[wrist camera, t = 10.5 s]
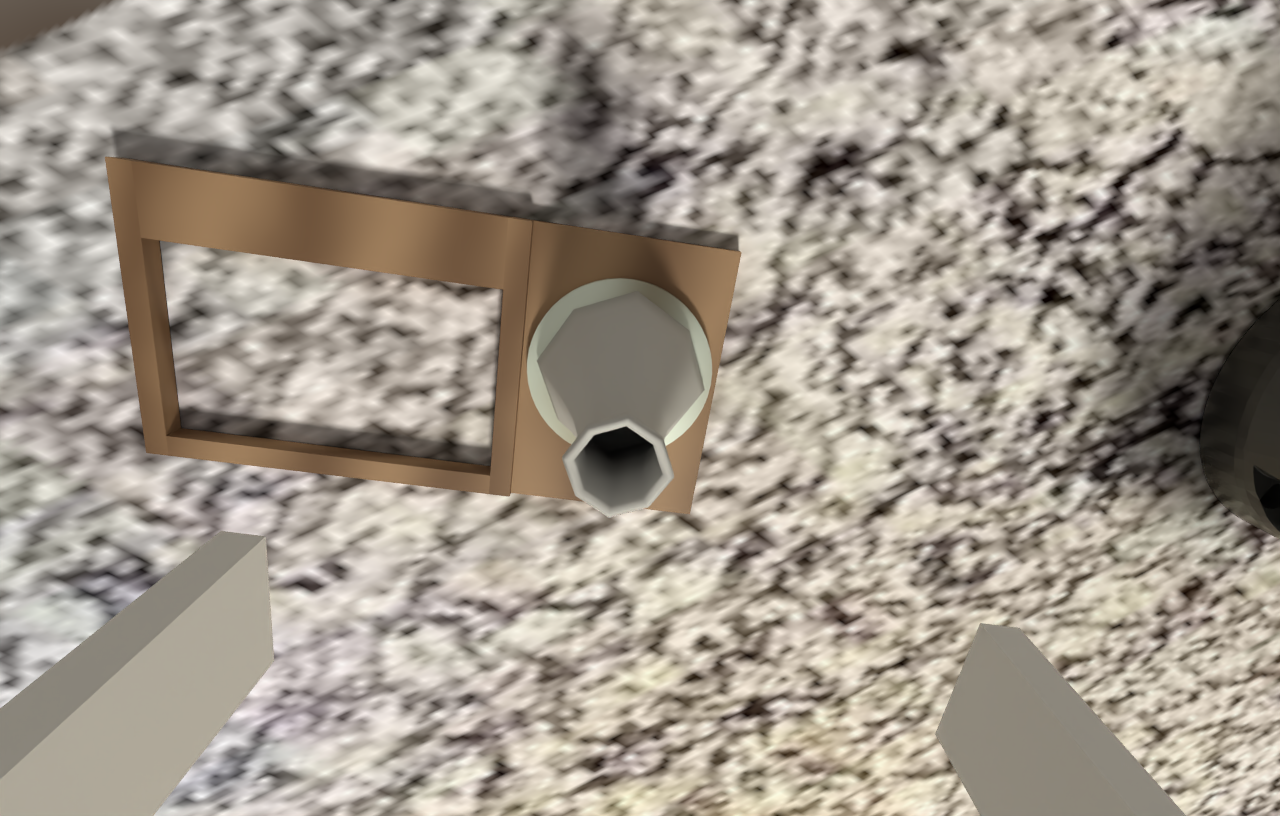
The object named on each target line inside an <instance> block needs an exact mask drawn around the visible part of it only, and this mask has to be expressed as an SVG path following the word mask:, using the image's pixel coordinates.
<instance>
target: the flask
mask: <svg viewBox="0 0 1280 816" xmlns="http://www.w3.org/2000/svg"><path fill="white" fill-rule="evenodd" d="M537 363H538V366H539V369H540V371H541V374H542V377H543V380H544V383H545V385H546V388H547V391H548V394H549V397H550V400H551V402H552V405H553V408H554V411H555V414H556V416H557V419H558V420H559V421H560V422H561V423H562V424H563V425H564V426H565V427H566V428H568V429H569V430H570V431H571V432H572V433H573V435H574V436H575V437H576V439H575V441H574V442H573V443H572V445H571V446H570V447H569V448H568V450H567V451H566V452H565V454H564V455H563V456H562V460H563V463H564V466H565V469H566V471H567V474H568V477H569V480H570V482H571V485H572V488H573V491H574V494H575V496H576V497H578V498H579V499H581V500H582V501H584V502H586V503H587V504H589V505H590V506H592V507H593V508H595V509H596V510H598V511H599V512H601V513H603V514H604V515H606V516H607V517H609V518H610V517H614V516H617V515H621V514H625V513H629V512H633V511H637V510H640V509H644V508H648V507H649V506H650V505H651V504H652V503H653V502H654V500H655V499H656V498H657V497H658V496H659V495H660V493H661V492H662V491H663V490H664V489H665V488H666V486H667V485H668V484H669V483H670V482H671V481H672V479H673V478H674V473H673V469H672V466H671V462H670V459H669V456H668V452H667V449H666V445H665V442H664V439H665V437H666V436H667V435H668V434H669V432H670V431H671V430H672V429H673V428H674V426H675V425H676V424H677V423H678V422H679V420H680V419H681V418H682V417H683V416H684V414H685V413H686V412H687V411H688V410H689V408H690V407H691V406H692V405H693V403H694V402H695V401H696V400H697V399H698V397H699V396H700V395H701V394H702V393H703V391H704V390H705V389H704V385H703V381H702V377H701V373H700V370H699V366H698V362H697V358H696V354H695V350H694V347H693V343H692V339H691V335H690V331H689V330H688V329H687V328H685V327H684V326H683V325H682V324H680V323H679V322H678V321H676V320H675V319H674V318H672V317H671V316H670V315H668V314H667V313H666V312H664V311H663V310H662V309H661V308H659V307H658V306H657V305H655V304H654V303H653V302H651V301H650V300H649V299H647V298H646V297H645V296H643V295H642V294H641V293H640V292H638V291H635V292H632V293H628V294H625V295H621V296H618V297H614V298H611V299H607V300H604V301H601V302H597V303H594V304H590V305H587V306H583V307H580V308H576V309H574V310H573V311H572V312H571V314H570V315H569V316H568V318H567V319H566V321H565V322H564V323H563V325H562V326H561V328H560V329H559V330H558V332H557V333H556V334H555V336H554V337H553V339H552V340H551V341H550V343H549V344H548V345H547V347H546V348H545V350H544V351H543V352H542V354H541V355H540V357H539V358H538V359H537Z"/></svg>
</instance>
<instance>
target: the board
mask: <svg viewBox="0 0 1280 816" xmlns="http://www.w3.org/2000/svg"><path fill="white" fill-rule="evenodd" d="M105 161H106V168H107V175H108V182H109V189H110V197H111V204H112V211H113V218H114V225H115V232H116V239H117V247H118V254H119V261H120V268H121V275H122V282H123V289H124V296H125V304H126V311H127V318H128V325H129V332H130V339H131V346H132V354H133V361H134V368H135V375H136V382H137V389H138V396H139V404H140V411H141V418H142V425H143V432H144V439H145V446H146V453H152V454H160V455H168V456H177V457H185V458H193V459H202V460H210V461H218V462H227V463H235V464H243V465H252V466H260V467H268V468H277V469H285V470H293V471H302V472H310V473H318V474H327V475H335V476H343V477H352V478H360V479H368V480H377V481H385V482H393V483H401V484H410V485H418V486H426V487H435V488H443V489H451V490H460V491H468V492H476V493H485V494H493V495H501V496H510V494H511V493H518V494H526V495H535V496H543V497H551V498H560V499H568V500H576V501H582V500H581V499H579V498H578V497H576V496H575V494H574V491H573V488H572V485H571V482H570V480H569V477H568V474H567V471H566V469H565V466H564V463H563V460H562V456H563V455H564V454H565V452H566V451H567V450H568V448H569V447H570V446H571V445H572V443H573V442H574V441H575V439H576V437H575V436H574V435H573V433H572V432H571V431H570V430H569V429H568V428H566V427H565V426H564V425H563V424H562V423H561V422H560V421H559V420H558V419H557V416H556V414H555V411H554V408H553V405H552V402H551V400H550V397H549V394H548V391H547V388H546V385H545V383H544V380H543V377H542V374H541V371H540V369H539V366H538V363H537V359H538V358H539V357H540V355H541V354H542V352H543V351H544V350H545V348H546V347H547V345H548V344H549V343H550V341H551V340H552V339H553V337H554V336H555V334H556V333H557V332H558V330H559V329H560V328H561V326H562V325H563V323H564V322H565V321H566V319H567V318H568V316H569V315H570V314H571V312H572V311H573V310H574V309H576V308H580V307H583V306H587V305H590V304H594V303H597V302H601V301H604V300H607V299H611V298H614V297H618V296H621V295H625V294H628V293H632V292H635V291H638V292H640V293H641V294H642V295H643V296H645V297H646V298H647V299H649V300H650V301H651V302H653V303H654V304H655V305H657V306H658V307H659V308H661V309H662V310H663V311H664V312H666V313H667V314H668V315H670V316H671V317H672V318H674V319H675V320H676V321H678V322H679V323H680V324H682V325H683V326H684V327H685V328H687V329H688V330H689V331H690V335H691V339H692V343H693V347H694V350H695V354H696V358H697V362H698V366H699V370H700V373H701V377H702V381H703V385H704V389H705V390H704V391H703V393H702V394H701V395H700V396H699V397H698V399H697V400H696V401H695V402H694V403H693V405H692V406H691V407H690V408H689V410H688V411H687V412H686V413H685V414H684V416H683V417H682V418H681V419H680V420H679V422H678V423H677V424H676V425H675V426H674V428H673V429H672V430H671V431H670V432H669V434H668V435H667V436H666V437H665V439H664V442H665V445H666V449H667V452H668V456H669V459H670V462H671V466H672V469H673V473H674V478H673V479H672V481H671V482H670V483H669V484H668V485H667V486H666V488H665V489H664V490H663V491H662V492H661V493H660V495H659V496H658V497H657V498H656V499H655V500H654V502H653V503H652V504H651V505H650V506H649V507H648V508H644V509H651V510H659V511H667V512H676V513H684V514H690V510H691V505H692V500H693V494H694V489H695V484H696V479H697V474H698V469H699V464H700V459H701V454H702V449H703V444H704V439H705V434H706V429H707V424H708V419H709V414H710V409H711V404H712V399H713V394H714V388H715V383H716V378H717V373H718V368H719V363H720V358H721V353H722V348H723V343H724V338H725V333H726V328H727V323H728V318H729V313H730V308H731V303H732V298H733V293H734V288H735V282H736V277H737V272H738V267H739V262H740V257H741V252H740V251H735V250H728V249H722V248H715V247H709V246H702V245H695V244H689V243H682V242H676V241H669V240H662V239H656V238H649V237H643V236H636V235H629V234H623V233H616V232H610V231H603V230H596V229H590V228H583V227H577V226H570V225H563V224H557V223H550V222H544V221H537V220H530V219H524V218H517V217H511V216H504V215H497V214H491V213H484V212H478V211H471V210H464V209H458V208H451V207H445V206H438V205H431V204H425V203H418V202H412V201H405V200H398V199H392V198H385V197H379V196H372V195H365V194H359V193H352V192H346V191H339V190H332V189H326V188H319V187H313V186H306V185H299V184H293V183H286V182H280V181H273V180H266V179H260V178H253V177H247V176H240V175H233V174H227V173H220V172H214V171H207V170H200V169H194V168H187V167H181V166H174V165H167V164H161V163H154V162H148V161H141V160H134V159H128V158H117V157H105ZM159 240H160V241H167V242H174V243H181V244H188V245H195V246H202V247H209V248H216V249H223V250H230V251H237V252H244V253H251V254H258V255H265V256H272V257H279V258H286V259H293V260H300V261H307V262H314V263H321V264H328V265H335V266H342V267H349V268H356V269H363V270H370V271H377V272H384V273H391V274H398V275H405V276H412V277H419V278H426V279H433V280H440V281H447V282H454V283H461V284H468V285H475V286H482V287H488V288H495V289H502V290H503V300H502V314H501V328H500V343H499V357H498V371H497V385H496V399H495V414H494V428H493V442H492V456H491V466H484V465H476V464H468V463H460V462H452V461H444V460H436V459H427V458H419V457H411V456H403V455H395V454H387V453H379V452H371V451H363V450H354V449H346V448H338V447H330V446H322V445H314V444H306V443H298V442H290V441H281V440H273V439H265V438H257V437H249V436H241V435H233V434H225V433H217V432H208V431H200V430H192V429H184V428H181V423H180V414H179V406H178V397H177V389H176V380H175V372H174V363H173V354H172V346H171V337H170V329H169V320H168V312H167V303H166V295H165V286H164V278H163V269H162V261H161V252H160V243H159Z"/></svg>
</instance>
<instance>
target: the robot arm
mask: <svg viewBox="0 0 1280 816" xmlns="http://www.w3.org/2000/svg"><path fill="white" fill-rule="evenodd" d="M1200 453H1201V461H1202V466H1203V470H1204V473H1205V476H1206V479H1207V481H1208V483H1209V485H1210V487H1211V489H1212V491H1213V492H1214V494H1215V495H1216V497H1217V498H1218V499H1219V501H1220V502H1221V503H1222V504H1223V505H1224V506H1225V507H1226V508H1227V509H1228V510H1229V511H1231V512H1232V513H1233V514H1235V515H1236V516H1237V517H1239V518H1241V519H1242V520H1244V521H1246V522H1248V523H1250V524H1252V525H1254V526H1255V527H1257V528H1259V529H1261V530H1263V531H1265V532H1267V533H1269V534H1271V535H1272V536H1274V537H1276V538H1278V539H1280V300H1279V301H1277V302H1276V303H1275V304H1274V305H1273V306H1272V307H1271V308H1270V309H1269V310H1267V311H1266V312H1265V313H1264V314H1263V315H1262V316H1261V317H1260V318H1259V319H1258V320H1257V322H1256V323H1255V324H1254V325H1253V326H1252V327H1251V328H1250V329H1249V330H1248V332H1247V333H1246V334H1245V335H1244V336H1243V338H1242V339H1241V340H1240V342H1239V343H1238V344H1237V346H1236V347H1235V348H1234V350H1233V351H1232V353H1231V354H1230V356H1229V357H1228V359H1227V361H1226V362H1225V364H1224V366H1223V367H1222V369H1221V371H1220V373H1219V375H1218V377H1217V379H1216V381H1215V383H1214V385H1213V387H1212V390H1211V392H1210V395H1209V398H1208V400H1207V404H1206V407H1205V411H1204V415H1203V420H1202V425H1201V433H1200ZM273 662H274V652H273V637H272V623H271V608H270V593H269V579H268V564H267V549H266V536H258V535H249V534H241V533H233V532H225V531H220V532H219V533H218V534H217V535H215V536H214V537H213V538H212V539H211V540H209V541H208V542H207V543H206V544H204V545H203V546H202V547H201V548H199V549H198V550H197V551H196V552H194V553H193V554H192V555H191V556H189V557H188V558H187V559H186V560H184V561H183V562H182V563H181V564H179V565H178V566H177V567H176V568H174V569H173V570H172V571H171V572H169V573H168V574H167V575H166V576H164V577H163V578H162V579H161V580H160V581H158V582H157V583H156V584H155V585H153V586H152V587H151V588H150V589H148V590H147V591H146V592H145V593H143V594H142V595H141V596H140V597H138V598H137V599H136V600H135V601H133V602H132V603H131V604H130V605H128V606H127V607H126V608H125V609H123V610H122V611H121V612H120V613H118V614H117V615H116V616H115V617H114V618H112V619H111V620H110V621H109V622H107V623H106V624H105V625H104V626H102V627H101V628H100V629H99V630H97V631H96V632H95V633H94V634H92V635H91V636H90V637H89V638H87V639H86V640H85V641H84V642H82V643H81V644H80V645H79V646H77V647H76V648H75V649H74V650H72V651H71V652H70V653H69V654H67V655H66V656H65V657H64V658H63V659H61V660H60V661H59V662H58V663H56V664H55V665H54V666H53V667H51V668H50V669H49V670H48V671H46V672H45V673H44V674H43V675H41V676H40V677H39V678H38V679H36V680H35V681H34V682H33V683H31V684H30V685H29V686H28V687H26V688H25V689H24V690H23V691H21V692H20V693H19V694H18V695H16V696H15V697H14V698H13V699H12V700H10V701H9V702H8V703H7V704H5V705H4V706H3V707H2V708H0V816H153V815H154V814H155V813H156V812H157V810H158V809H159V808H160V806H161V805H162V804H163V803H164V801H165V800H166V799H167V797H168V796H169V795H170V794H171V792H172V791H173V790H174V789H175V787H176V786H177V785H178V783H179V782H180V781H181V780H182V778H183V777H184V776H185V774H186V773H187V772H188V771H189V769H190V768H191V767H192V765H193V764H194V763H195V762H196V760H197V759H198V758H199V757H200V755H201V754H202V753H203V751H204V750H205V749H206V748H207V746H208V745H209V744H210V742H211V741H212V740H213V739H214V737H215V736H216V735H217V733H218V732H219V731H220V730H221V728H222V727H223V726H224V725H225V723H226V722H227V721H228V719H229V718H230V717H231V716H232V714H233V713H234V712H235V710H236V709H237V708H238V707H239V705H240V704H241V703H242V701H243V700H244V699H245V698H246V696H247V695H248V694H249V693H250V691H251V690H252V689H253V687H254V686H255V685H256V684H257V682H258V681H259V680H260V678H261V677H262V676H263V675H264V673H265V672H266V671H267V669H268V668H269V667H270V666H271V664H272V663H273ZM936 736H937V738H938V740H939V742H940V743H941V745H942V747H943V749H944V751H945V752H946V754H947V756H948V758H949V760H950V761H951V763H952V765H953V767H954V769H955V770H956V772H957V774H958V776H959V778H960V779H961V781H962V783H963V785H964V787H965V788H966V790H967V792H968V794H969V796H970V797H971V799H972V801H973V803H974V805H975V806H976V808H977V810H978V812H979V814H980V815H981V816H1186V815H1185V814H1184V813H1183V812H1182V811H1181V809H1180V808H1179V807H1178V806H1177V805H1176V804H1175V803H1174V802H1173V800H1172V799H1171V798H1170V797H1169V796H1168V795H1167V794H1166V793H1165V791H1164V790H1163V789H1162V788H1161V787H1160V786H1159V785H1158V784H1157V782H1156V781H1155V780H1154V779H1153V778H1152V777H1151V776H1150V775H1149V773H1148V772H1147V771H1146V770H1145V769H1144V768H1143V767H1142V766H1141V764H1140V763H1139V762H1138V761H1137V760H1136V759H1135V758H1134V757H1133V755H1132V754H1131V753H1130V752H1129V751H1128V750H1127V749H1126V748H1125V746H1124V745H1123V744H1122V743H1121V742H1120V741H1119V740H1118V739H1117V737H1116V736H1115V735H1114V734H1113V733H1112V732H1111V731H1110V730H1109V728H1108V727H1107V726H1106V725H1105V724H1104V723H1103V722H1102V721H1101V719H1100V718H1099V717H1098V716H1097V715H1096V714H1095V713H1094V711H1093V710H1092V709H1091V708H1090V707H1089V706H1088V705H1087V704H1086V702H1085V701H1084V700H1083V699H1082V698H1081V697H1080V696H1079V695H1078V693H1077V692H1076V691H1075V690H1074V689H1073V688H1072V687H1071V686H1070V684H1069V683H1068V682H1067V681H1066V680H1065V679H1064V678H1063V677H1062V675H1061V674H1060V673H1059V672H1058V671H1057V670H1056V669H1055V668H1054V666H1053V665H1052V664H1051V663H1050V662H1049V661H1048V660H1047V659H1046V657H1045V656H1044V655H1043V654H1042V653H1041V652H1040V651H1039V650H1038V648H1037V647H1036V646H1035V645H1034V644H1033V643H1032V642H1031V641H1030V639H1029V638H1028V637H1027V636H1026V635H1025V634H1024V633H1023V632H1022V630H1021V629H1020V628H1015V627H1007V626H999V625H991V624H982V623H980V625H979V628H978V630H977V633H976V635H975V638H974V640H973V643H972V645H971V648H970V650H969V653H968V655H967V657H966V660H965V662H964V665H963V667H962V670H961V672H960V675H959V677H958V680H957V682H956V685H955V687H954V689H953V692H952V694H951V697H950V699H949V702H948V704H947V707H946V709H945V712H944V714H943V717H942V719H941V721H940V724H939V726H938V729H937V731H936Z"/></svg>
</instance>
